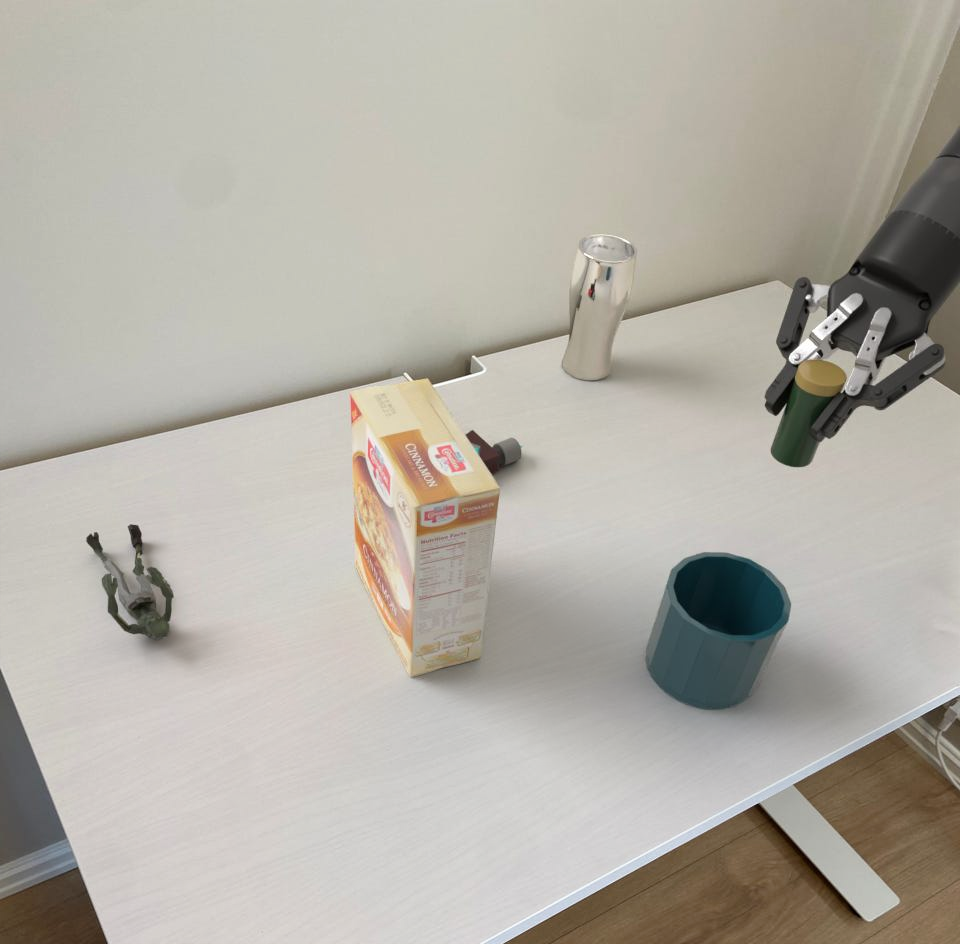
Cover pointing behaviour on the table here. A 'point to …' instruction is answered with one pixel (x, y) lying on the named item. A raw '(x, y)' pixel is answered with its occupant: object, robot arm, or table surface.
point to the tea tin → (806, 411)
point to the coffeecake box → (422, 523)
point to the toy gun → (495, 451)
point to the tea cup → (716, 629)
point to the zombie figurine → (137, 603)
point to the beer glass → (597, 303)
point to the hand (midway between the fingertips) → (792, 423)
